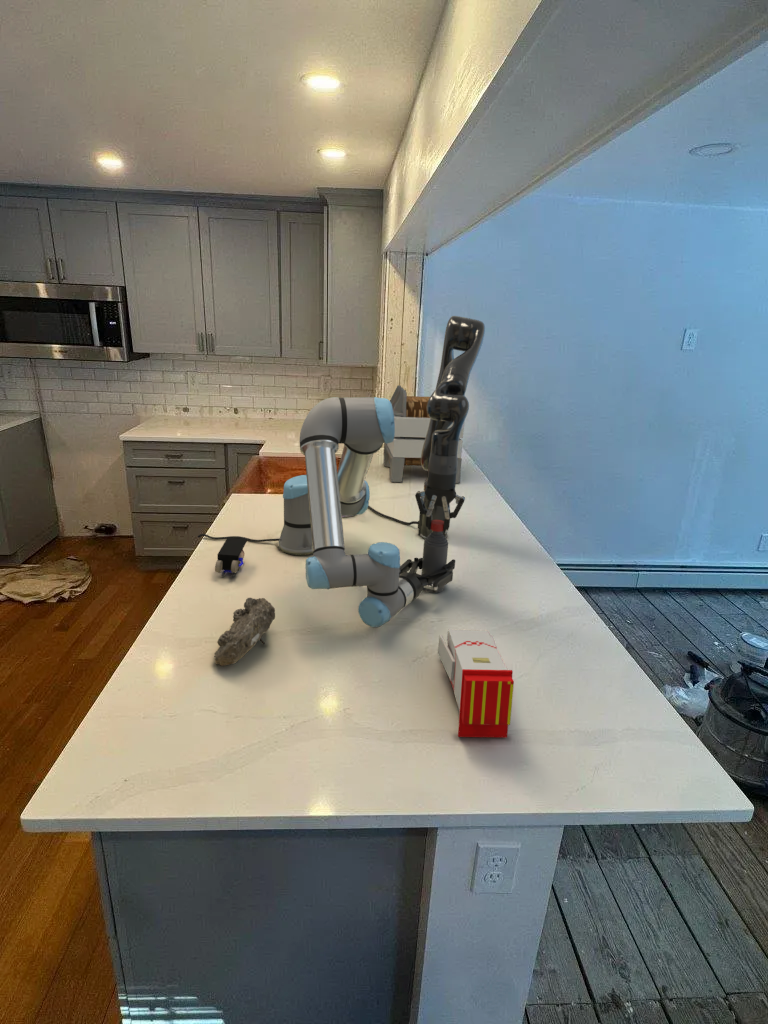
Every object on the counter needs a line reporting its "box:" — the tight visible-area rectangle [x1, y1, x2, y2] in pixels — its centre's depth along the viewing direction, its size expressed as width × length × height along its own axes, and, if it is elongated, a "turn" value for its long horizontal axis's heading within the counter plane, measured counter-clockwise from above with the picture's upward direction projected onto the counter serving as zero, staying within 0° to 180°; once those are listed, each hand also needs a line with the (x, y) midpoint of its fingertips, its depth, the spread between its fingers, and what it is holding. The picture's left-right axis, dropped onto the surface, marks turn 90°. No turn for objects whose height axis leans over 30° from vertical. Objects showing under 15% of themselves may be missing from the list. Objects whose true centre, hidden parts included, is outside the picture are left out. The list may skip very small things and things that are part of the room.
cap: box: [431, 520, 444, 532], centre depth 156 cm, size 4×4×2 cm
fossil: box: [214, 597, 276, 667], centre depth 130 cm, size 22×10×15 cm
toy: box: [437, 628, 515, 738], centre depth 117 cm, size 12×13×30 cm
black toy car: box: [214, 538, 248, 578], centre depth 166 cm, size 7×8×15 cm
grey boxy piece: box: [383, 384, 465, 484], centre depth 268 cm, size 34×33×41 cm
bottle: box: [420, 530, 449, 594], centre depth 159 cm, size 7×7×19 cm
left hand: (441, 560), depth 164 cm, fingers closed on bottle, 7 cm apart
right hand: (437, 529), depth 156 cm, fingers closed on cap, 3 cm apart
